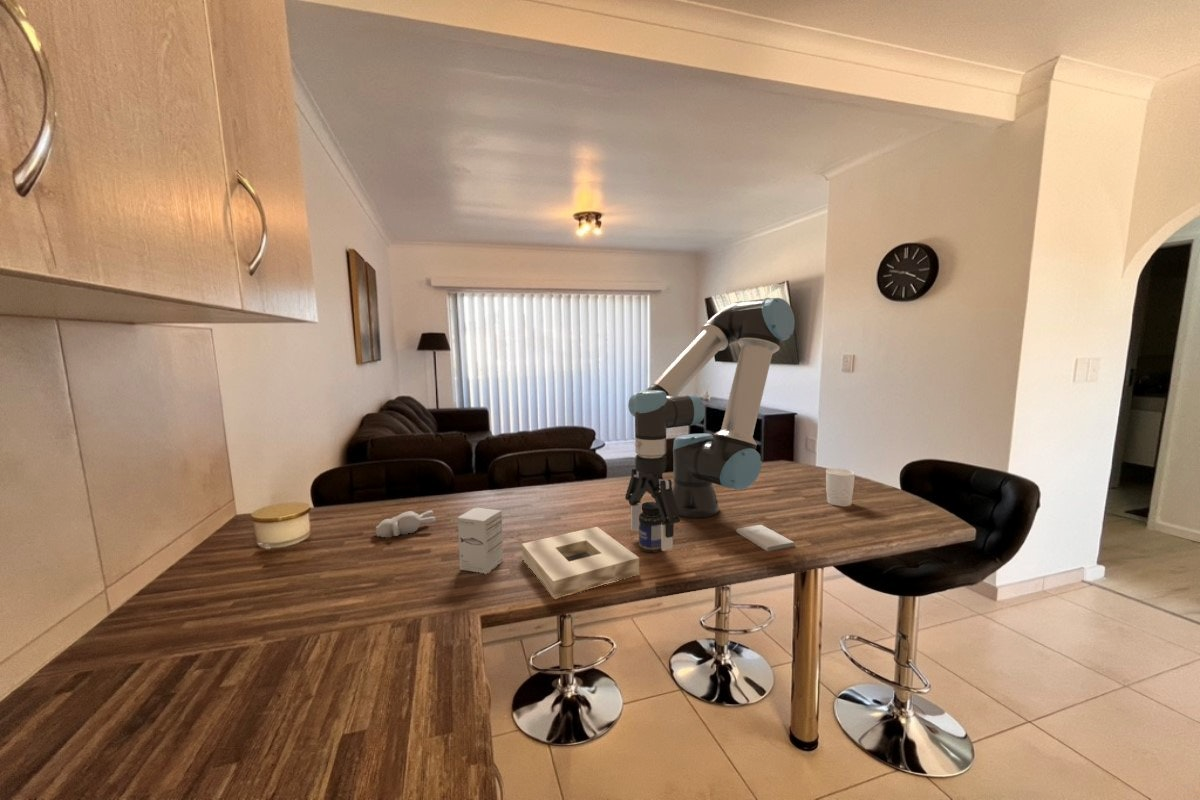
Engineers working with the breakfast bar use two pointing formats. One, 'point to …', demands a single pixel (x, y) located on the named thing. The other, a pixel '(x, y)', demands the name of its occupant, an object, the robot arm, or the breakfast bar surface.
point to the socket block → (578, 561)
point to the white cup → (839, 486)
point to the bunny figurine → (403, 523)
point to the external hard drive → (765, 537)
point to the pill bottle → (650, 528)
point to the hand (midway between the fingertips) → (650, 538)
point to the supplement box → (480, 540)
